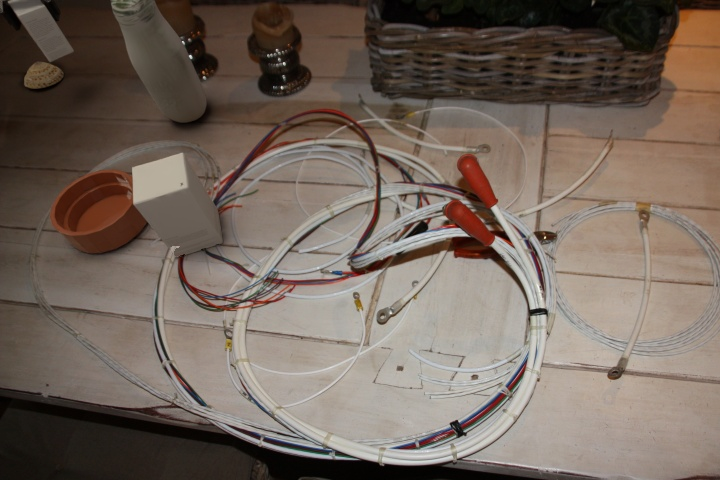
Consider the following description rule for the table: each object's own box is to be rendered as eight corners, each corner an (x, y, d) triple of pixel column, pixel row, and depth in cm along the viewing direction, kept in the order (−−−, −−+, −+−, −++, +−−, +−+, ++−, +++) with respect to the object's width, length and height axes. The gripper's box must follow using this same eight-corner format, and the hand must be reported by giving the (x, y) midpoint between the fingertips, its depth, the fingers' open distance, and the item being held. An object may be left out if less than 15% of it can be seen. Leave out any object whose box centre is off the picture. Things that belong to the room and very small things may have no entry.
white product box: (218, 208, 102) (184, 150, 90) (224, 243, 97) (189, 187, 85) (171, 222, 101) (130, 165, 89) (174, 259, 96) (131, 204, 84)
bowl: (67, 265, 98) (46, 245, 93) (72, 203, 107) (53, 182, 102) (152, 240, 99) (136, 220, 94) (151, 181, 108) (135, 160, 103)
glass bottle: (162, 132, 116) (87, 8, 93) (177, 101, 122) (109, -24, 99) (205, 131, 115) (140, 5, 92) (218, 99, 121) (160, -27, 98)
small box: (38, 47, 119) (6, 1, 110) (63, 36, 121) (33, -10, 112) (49, 63, 115) (16, 16, 106) (75, 52, 117) (44, 5, 108)
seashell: (14, 76, 130) (35, 50, 130) (37, 89, 135) (57, 64, 135) (26, 90, 126) (47, 63, 126) (49, 103, 131) (69, 78, 131)
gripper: (-78, -50, 95) (-7, 42, 110) (23, -71, 97) (79, 22, 111) (-69, -68, 99) (-2, 23, 114) (28, -88, 101) (81, 3, 116)
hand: (38, 22), depth 113 cm, fingers closed on small box, 7 cm apart
